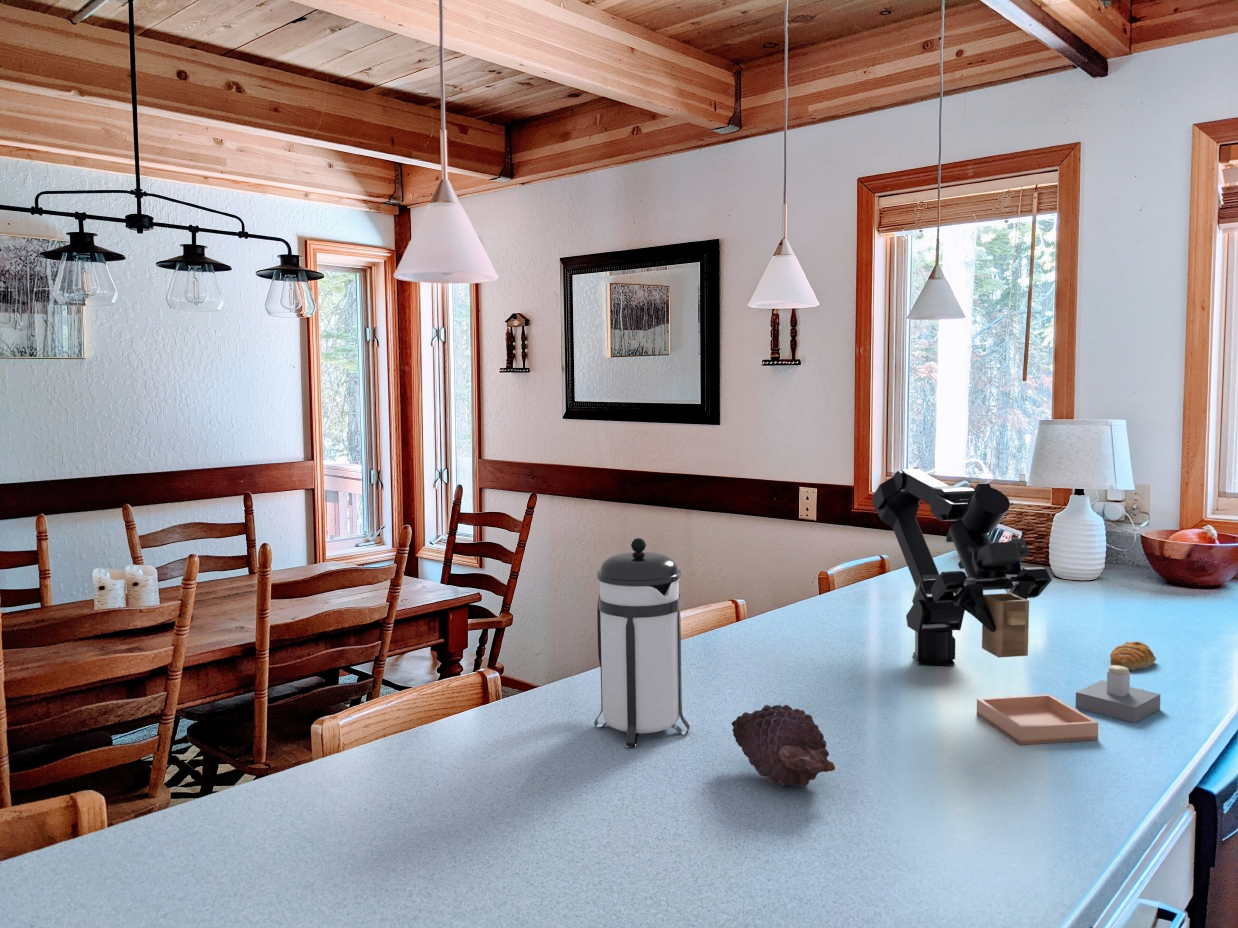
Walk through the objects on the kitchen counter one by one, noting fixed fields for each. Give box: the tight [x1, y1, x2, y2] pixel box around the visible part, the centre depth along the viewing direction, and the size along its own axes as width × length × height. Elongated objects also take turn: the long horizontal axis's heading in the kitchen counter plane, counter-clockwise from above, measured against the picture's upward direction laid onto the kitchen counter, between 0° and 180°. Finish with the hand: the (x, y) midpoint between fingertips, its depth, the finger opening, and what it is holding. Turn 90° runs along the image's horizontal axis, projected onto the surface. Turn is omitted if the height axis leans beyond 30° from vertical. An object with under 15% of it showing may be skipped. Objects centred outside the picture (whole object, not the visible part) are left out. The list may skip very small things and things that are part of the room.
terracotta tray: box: [976, 693, 1099, 746], centre depth 136 cm, size 12×12×3 cm
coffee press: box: [593, 537, 691, 748], centre depth 137 cm, size 17×16×30 cm
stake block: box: [1075, 665, 1161, 724], centre depth 142 cm, size 9×9×7 cm
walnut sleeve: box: [981, 592, 1030, 659], centre depth 143 cm, size 6×5×9 cm
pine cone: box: [731, 704, 836, 787], centre depth 119 cm, size 18×10×10 cm, turn 34°
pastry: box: [1109, 640, 1157, 672], centre depth 164 cm, size 9×7×4 cm
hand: (1009, 629), depth 143 cm, fingers closed on walnut sleeve, 5 cm apart
